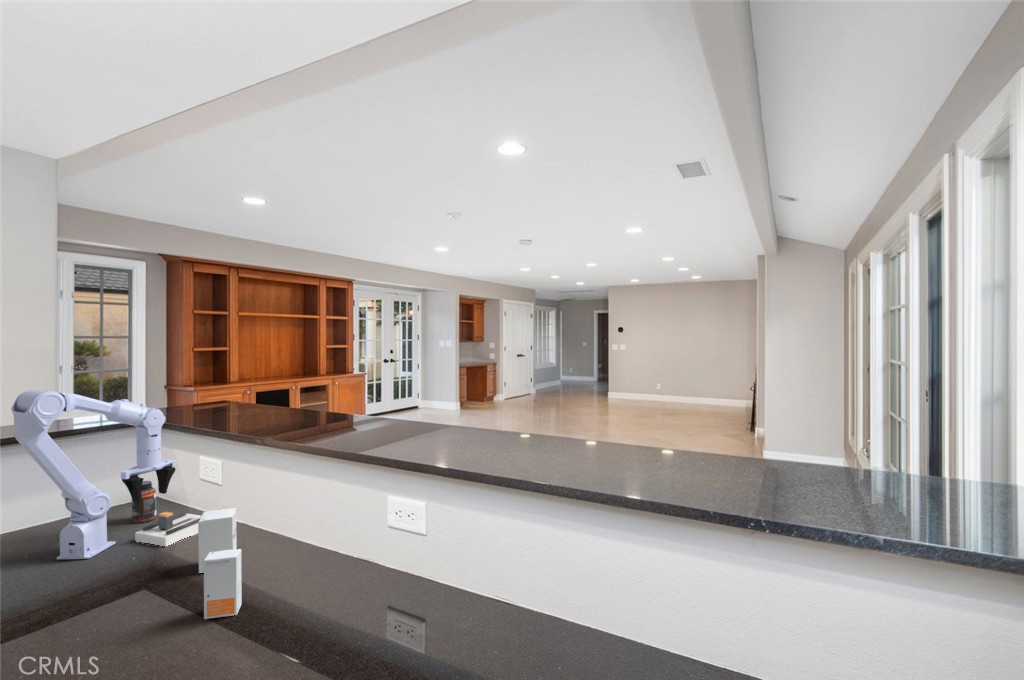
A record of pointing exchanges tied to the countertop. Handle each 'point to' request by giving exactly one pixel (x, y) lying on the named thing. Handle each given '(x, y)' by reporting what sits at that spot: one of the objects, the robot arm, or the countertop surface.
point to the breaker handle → (166, 520)
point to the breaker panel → (170, 530)
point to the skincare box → (222, 583)
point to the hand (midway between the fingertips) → (150, 497)
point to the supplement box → (216, 533)
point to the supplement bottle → (145, 504)
